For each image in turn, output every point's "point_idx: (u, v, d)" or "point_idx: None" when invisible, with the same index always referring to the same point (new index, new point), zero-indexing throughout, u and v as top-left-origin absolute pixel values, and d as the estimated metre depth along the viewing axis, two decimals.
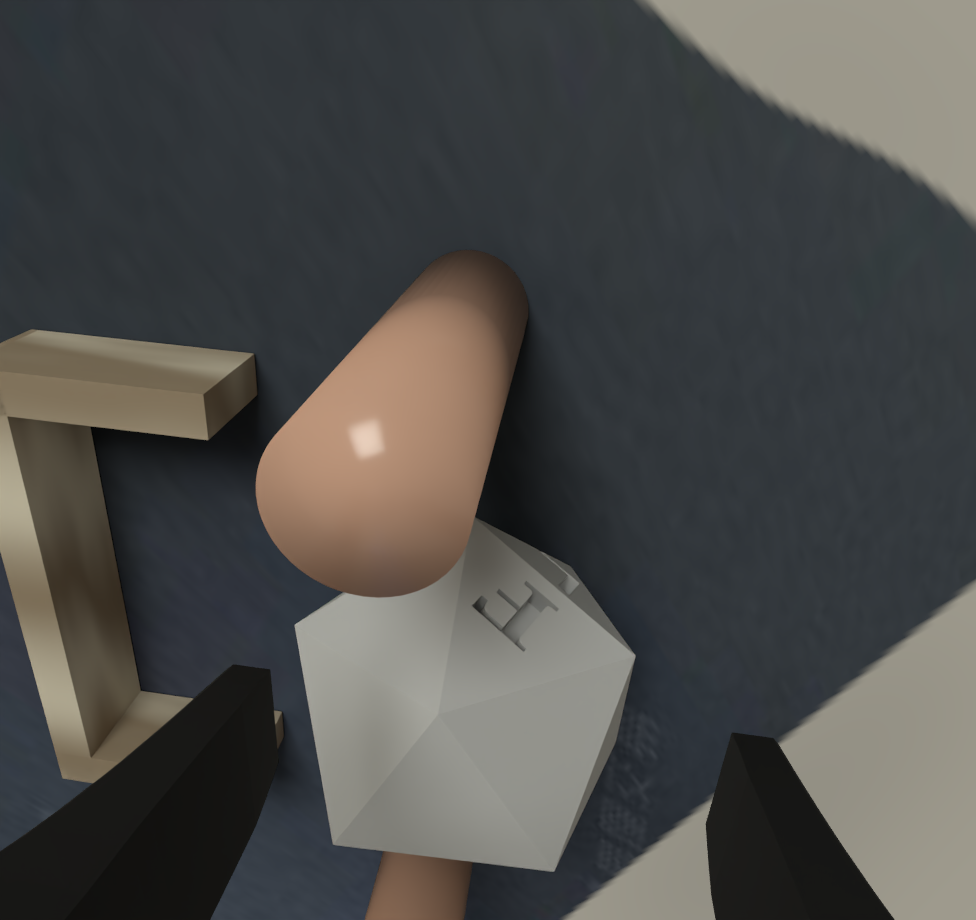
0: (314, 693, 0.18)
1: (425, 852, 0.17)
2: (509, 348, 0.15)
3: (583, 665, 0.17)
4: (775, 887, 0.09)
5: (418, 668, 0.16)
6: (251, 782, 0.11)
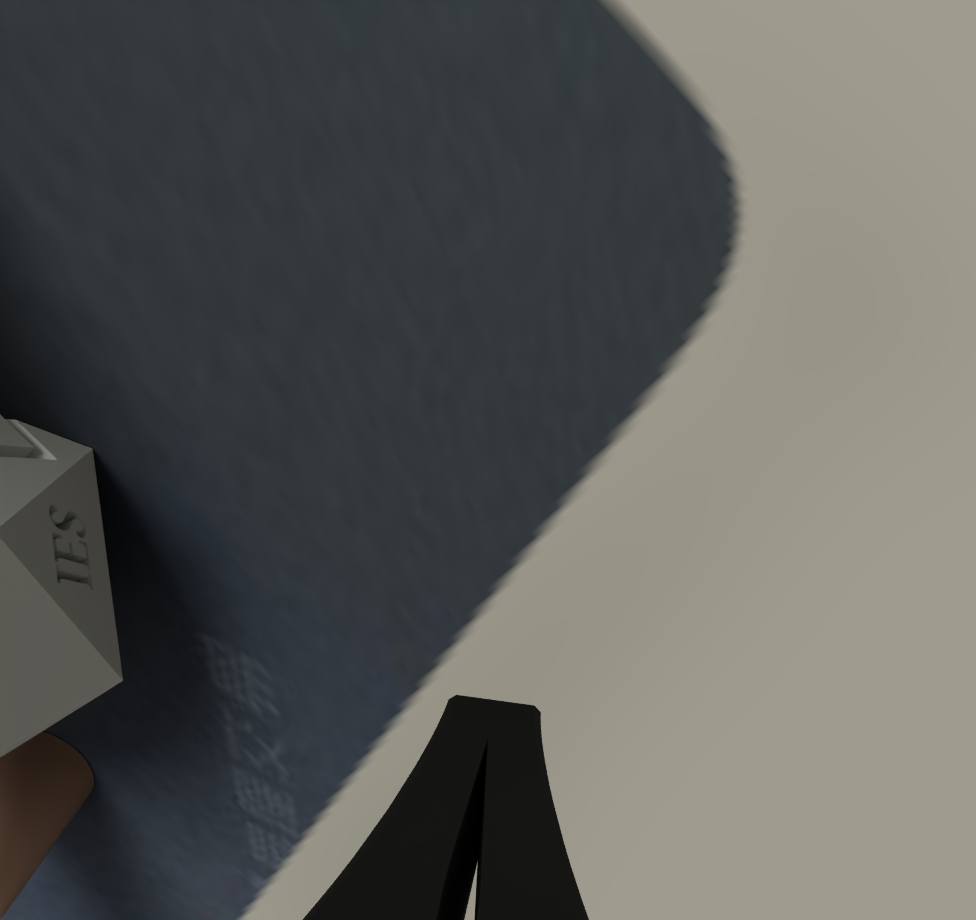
0: None
1: None
2: None
3: None
4: (482, 842, 0.09)
5: None
6: (481, 817, 0.11)
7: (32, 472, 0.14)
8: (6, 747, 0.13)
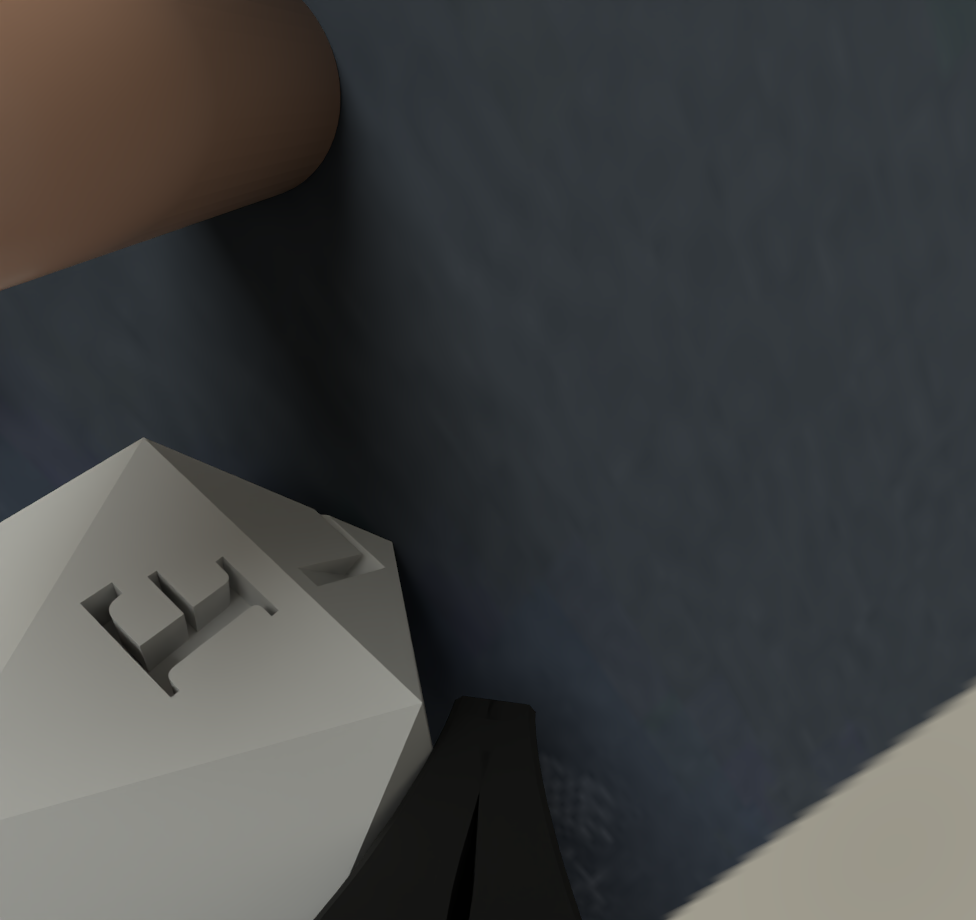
0: None
1: None
2: (181, 30, 0.07)
3: (302, 724, 0.08)
4: (476, 841, 0.09)
5: None
6: None
7: (384, 593, 0.11)
8: None
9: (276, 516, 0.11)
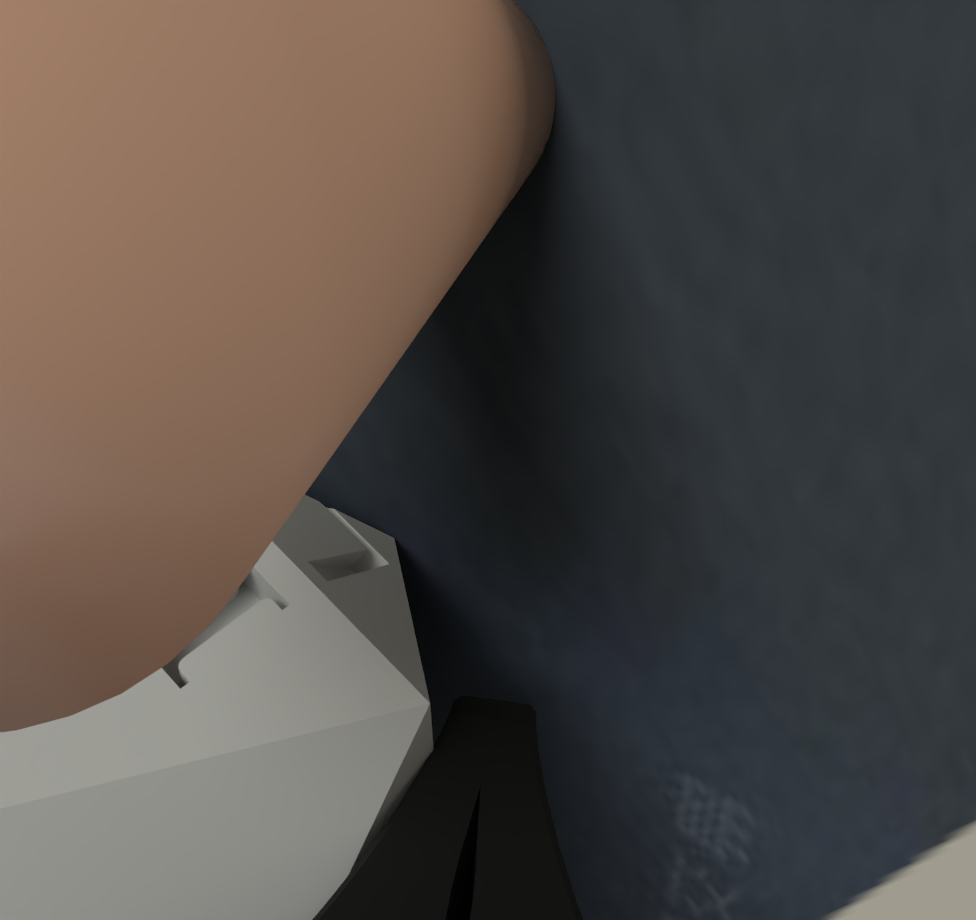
0: None
1: None
2: (527, 51, 0.06)
3: (312, 720, 0.08)
4: None
5: None
6: None
7: (390, 590, 0.11)
8: None
9: None
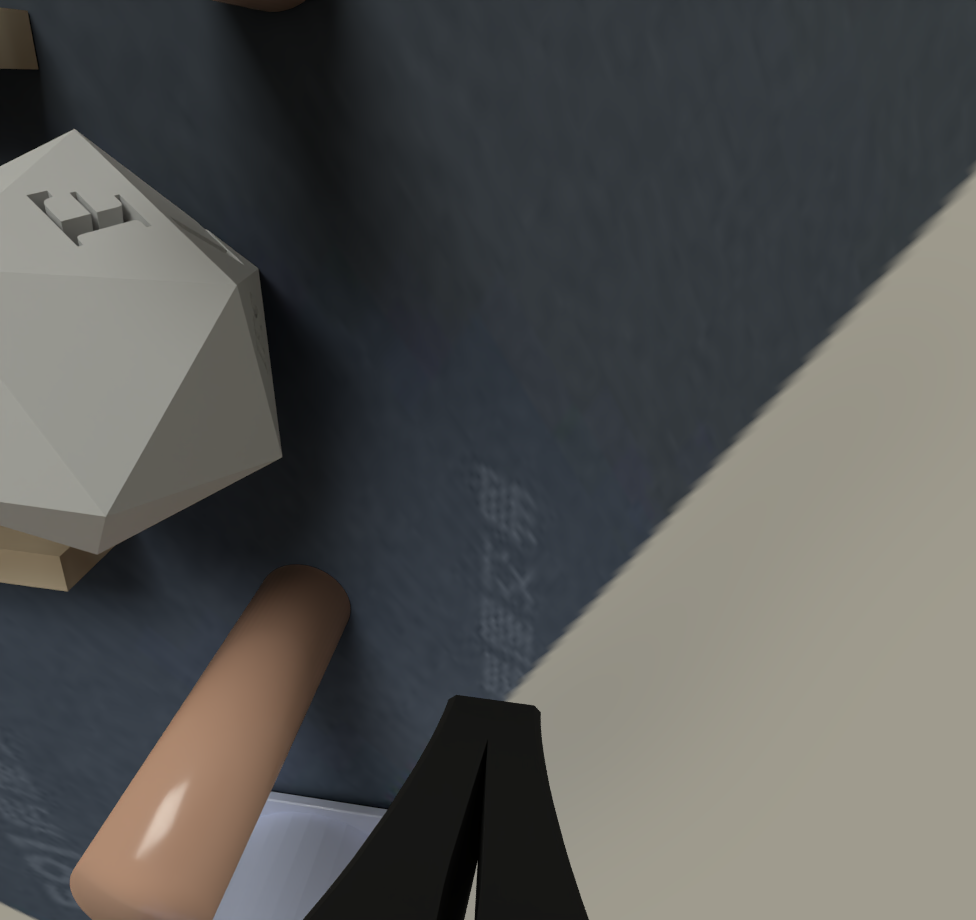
0: None
1: None
2: None
3: (157, 276, 0.14)
4: (482, 842, 0.09)
5: None
6: (481, 817, 0.11)
7: (235, 264, 0.17)
8: (209, 481, 0.16)
9: (163, 202, 0.16)
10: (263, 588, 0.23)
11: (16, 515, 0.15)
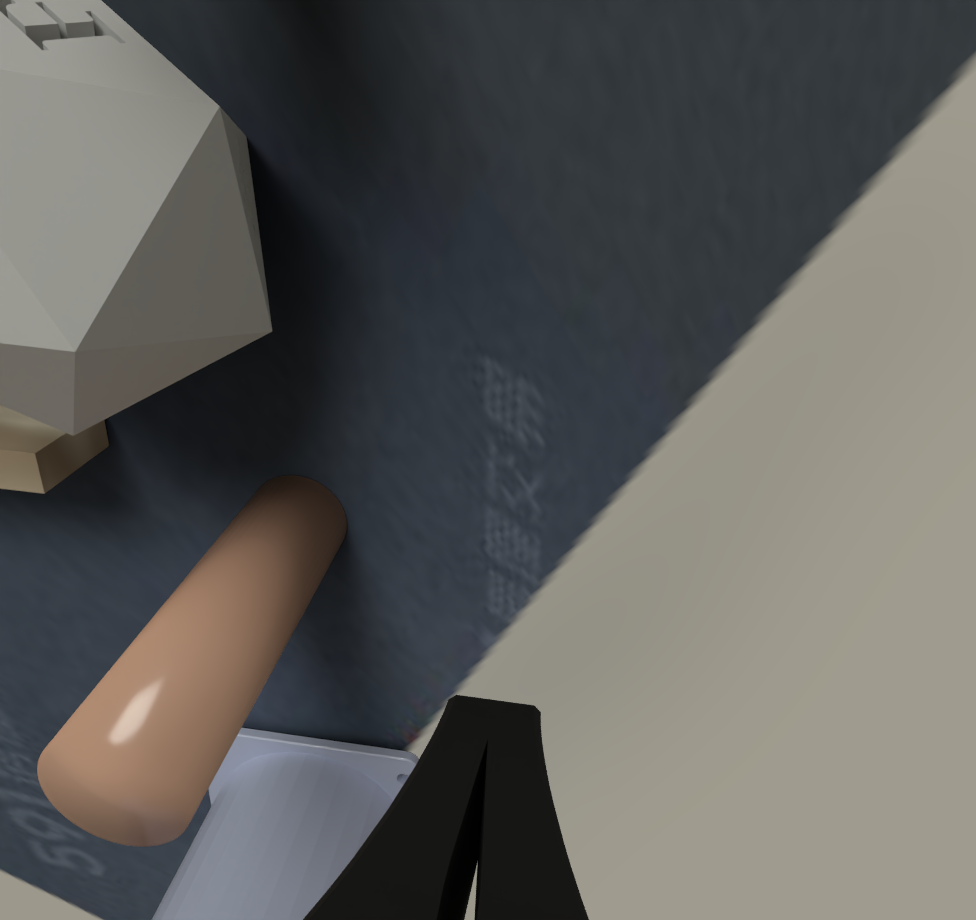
0: None
1: None
2: None
3: (132, 87, 0.13)
4: (482, 842, 0.09)
5: None
6: (481, 816, 0.11)
7: None
8: (191, 338, 0.15)
9: None
10: (254, 497, 0.22)
11: None
